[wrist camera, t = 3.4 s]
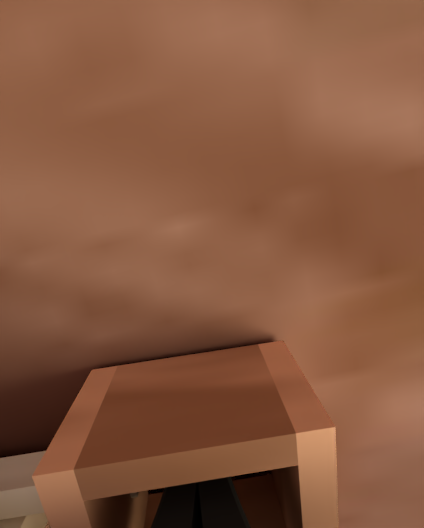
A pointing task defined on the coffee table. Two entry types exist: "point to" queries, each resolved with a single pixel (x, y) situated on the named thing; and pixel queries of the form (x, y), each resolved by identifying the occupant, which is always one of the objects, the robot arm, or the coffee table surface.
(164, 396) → the pull frame
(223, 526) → the robot arm
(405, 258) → the coffee table surface
